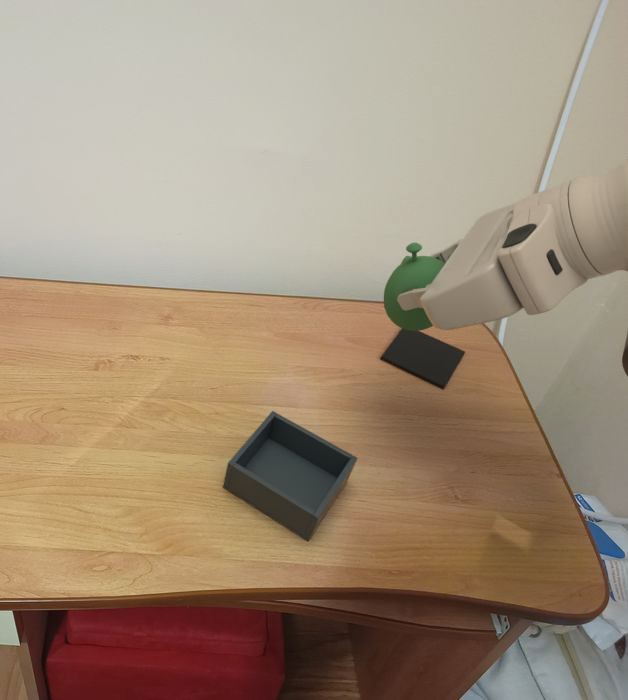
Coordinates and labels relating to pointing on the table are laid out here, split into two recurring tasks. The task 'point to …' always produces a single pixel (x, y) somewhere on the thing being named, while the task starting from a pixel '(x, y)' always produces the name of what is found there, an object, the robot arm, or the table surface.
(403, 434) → the table surface
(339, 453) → the crate
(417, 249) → the alien toy
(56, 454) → the table surface
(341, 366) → the table surface
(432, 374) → the mat
